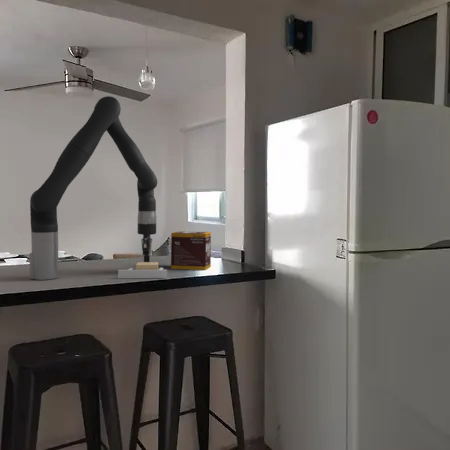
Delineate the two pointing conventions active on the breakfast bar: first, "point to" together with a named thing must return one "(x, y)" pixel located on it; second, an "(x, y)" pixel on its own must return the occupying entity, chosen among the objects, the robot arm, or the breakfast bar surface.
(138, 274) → the display stand
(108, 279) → the breakfast bar surface
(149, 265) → the carton
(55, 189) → the robot arm
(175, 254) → the supplement box
